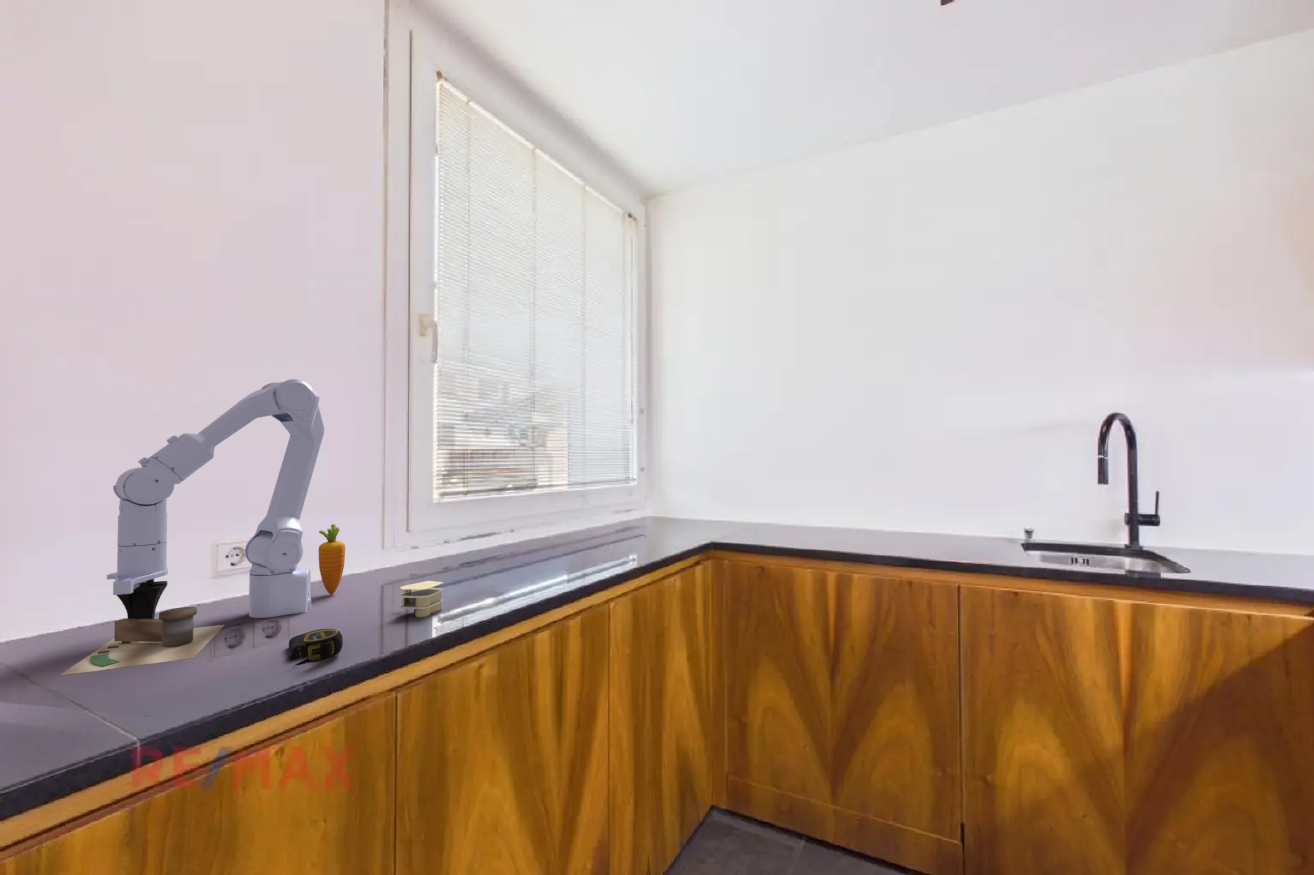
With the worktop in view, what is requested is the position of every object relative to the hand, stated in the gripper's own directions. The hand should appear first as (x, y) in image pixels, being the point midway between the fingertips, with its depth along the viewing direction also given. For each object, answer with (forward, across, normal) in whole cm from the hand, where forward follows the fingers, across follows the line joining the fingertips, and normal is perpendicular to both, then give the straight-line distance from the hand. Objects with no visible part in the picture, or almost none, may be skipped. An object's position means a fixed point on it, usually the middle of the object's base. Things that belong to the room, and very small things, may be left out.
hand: (141, 630), depth 88 cm
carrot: (+3, -25, +24) cm, 34 cm away
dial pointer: (+1, +4, +3) cm, 5 cm away
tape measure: (+3, +18, +25) cm, 31 cm away
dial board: (+3, +5, +3) cm, 7 cm away
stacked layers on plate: (+3, -2, +41) cm, 41 cm away
